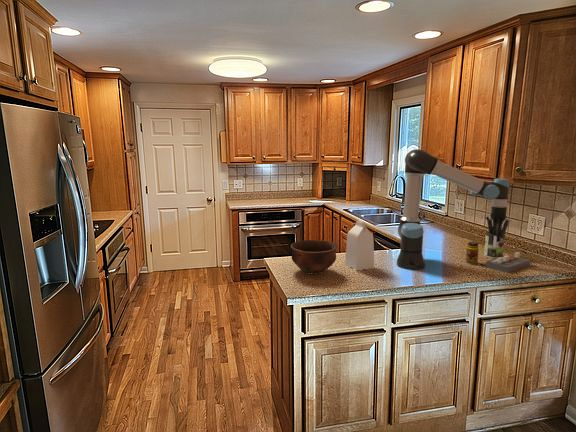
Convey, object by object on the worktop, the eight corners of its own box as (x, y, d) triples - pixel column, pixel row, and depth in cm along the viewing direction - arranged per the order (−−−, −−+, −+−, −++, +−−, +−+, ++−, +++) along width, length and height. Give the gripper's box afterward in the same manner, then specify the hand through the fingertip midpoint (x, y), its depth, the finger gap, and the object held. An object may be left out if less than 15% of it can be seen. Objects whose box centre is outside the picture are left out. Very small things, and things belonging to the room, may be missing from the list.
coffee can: (507, 257, 224) (509, 234, 221) (493, 259, 221) (495, 236, 218) (493, 253, 233) (495, 231, 231) (479, 254, 231) (481, 232, 228)
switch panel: (507, 272, 197) (508, 267, 197) (485, 266, 207) (485, 261, 207) (530, 264, 210) (530, 259, 209) (508, 259, 220) (508, 254, 219)
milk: (345, 264, 214) (345, 220, 209) (362, 262, 218) (363, 218, 213) (356, 270, 203) (357, 224, 198) (374, 268, 207) (375, 222, 202)
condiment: (467, 264, 211) (469, 244, 209) (461, 260, 220) (463, 240, 218) (480, 265, 211) (482, 244, 209) (474, 260, 219) (476, 240, 217)
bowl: (287, 278, 192) (287, 250, 189) (293, 264, 216) (293, 238, 213) (336, 280, 188) (336, 251, 186) (336, 265, 213) (337, 239, 210)
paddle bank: (499, 264, 202) (500, 258, 201) (496, 263, 203) (497, 258, 202) (519, 257, 213) (520, 252, 212) (517, 257, 214) (517, 252, 213)
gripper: (514, 207, 206) (510, 248, 210) (491, 204, 216) (488, 243, 221) (507, 208, 202) (503, 250, 206) (484, 205, 213) (480, 245, 217)
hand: (495, 246), depth 213 cm, fingers closed
